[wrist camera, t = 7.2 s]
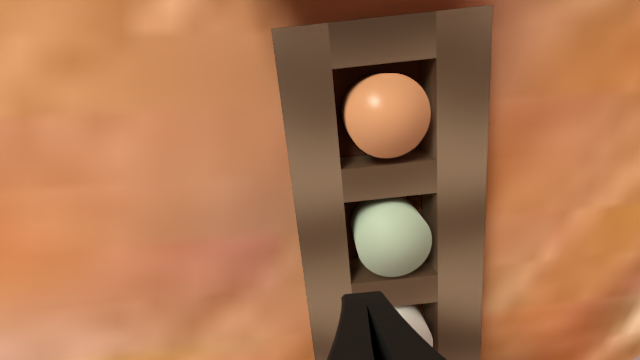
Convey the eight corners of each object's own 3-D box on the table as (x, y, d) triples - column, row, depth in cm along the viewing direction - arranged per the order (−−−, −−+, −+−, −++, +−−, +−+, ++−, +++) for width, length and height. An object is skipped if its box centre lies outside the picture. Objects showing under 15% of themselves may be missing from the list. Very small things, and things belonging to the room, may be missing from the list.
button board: (460, 356, 22) (478, 390, 20) (320, 371, 22) (321, 407, 20) (466, 15, 17) (492, 4, 14) (276, 35, 17) (271, 28, 14)
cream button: (419, 337, 21) (433, 370, 19) (360, 343, 21) (367, 377, 19) (418, 285, 20) (432, 313, 18) (356, 292, 20) (362, 321, 18)
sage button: (417, 248, 20) (432, 272, 17) (353, 255, 20) (359, 280, 17) (415, 187, 19) (431, 204, 16) (348, 194, 19) (354, 212, 16)
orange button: (414, 143, 18) (431, 153, 15) (344, 150, 18) (350, 162, 15) (413, 69, 17) (430, 68, 14) (338, 77, 17) (343, 78, 14)
